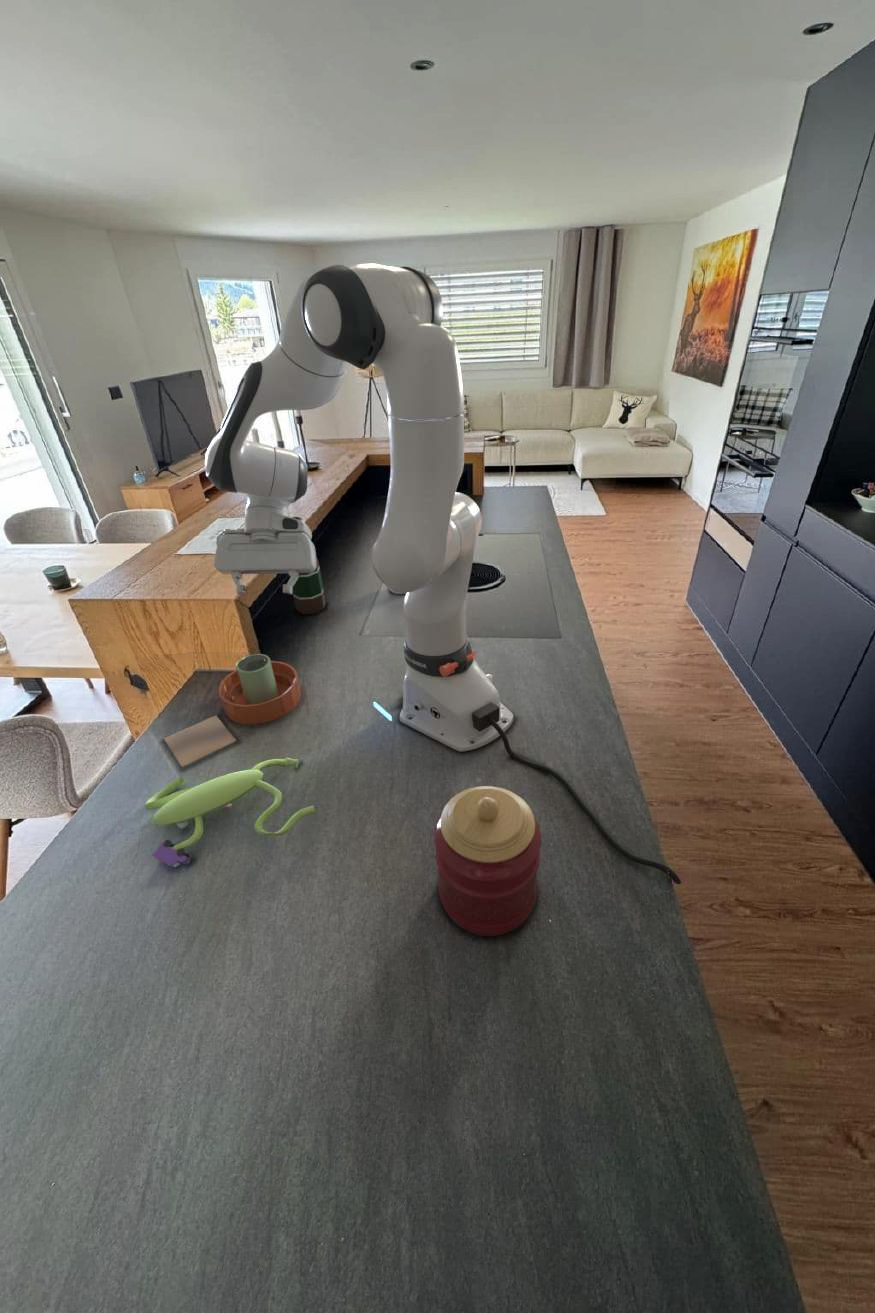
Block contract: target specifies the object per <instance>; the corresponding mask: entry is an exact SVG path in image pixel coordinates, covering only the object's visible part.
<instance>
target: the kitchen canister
mask: <svg viewBox="0 0 875 1313" xmlns="http://www.w3.org/2000/svg"><path fill="white" fill-rule="evenodd" d="M434 844H435V848H436V849H435V860H436V864H437V869H438V878H437V886H438V889H437V890H438V895H439V899H440V901H441V904H442V907H443V909H444V910H445V912H446V914H447V916H448V917H449V919H450V920H451V921H453V923H455V925H457V926H458V927H460V929H463V930H464V931H466V932H468V933H471V934H473V935H478V936H482V937H496V936H503V935H505V934H508V933H511V932H512V931H514V930H516V929H517V928H519V927H520V926H522V925H523V924H524V923H525V921H526V920H527V919H528V917H529V916H530V914H531V912H532V910H533V909H534V906H535V903H536V901H537V895H538V880H537V879H538V878H537V877H538V870H539V866H540V861H541V860H540V859H541V857H540V856H541V855H540V850H541V847H542V833H541V829H540V826H539V824H538V822H537V820H536V818H535V816H534V813H533V810H532V809H531V807H530V806H529V804H528V803H527V802H526V801H525V800H524V799H523V798H521V797H520V796H519V795H518V794H516V793H514V792H513V791H510V790H508V789H506V788H502V787H498V786H493V785H492V786H490V785H480V786H475V787H470V788H467V789H465V790H462V791H460V792H458V793H457V794H456V795H454V796H453V797H452V798H451V799H449V800H448V801H447V803H446V804H445V806H444V808H443V810H442V812H441V814H440V816H439V818H438V820H437V822H436V825H435V828H434Z"/></svg>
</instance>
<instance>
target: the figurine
mask: <svg viewBox="0 0 875 1313" xmlns="http://www.w3.org/2000/svg"><path fill="white" fill-rule="evenodd" d="M299 764H300V762H299V759H298V758H297V759H295V758H294V759H293V758H290V757H288V756H286V757H285V758H284V759H283V758H272V759H267V760H264V761H261V762H259V763H257V764H256V765H254V766H252V768H251V769H244V770H240V771H234V772H231V773H228V774H223V775H221V776H217V777H215V778H213V779H210V780H207V781H205V782H203V783H201V784H198V785H195V786H192V787H190V788H186V789H182V790H179V791H176V792H173V791H174V790H176V789H178V788H179V787H180V786H182V785H183V783H184V782H185V779H184V778H183V776H181V775H180V776H178V778H176V779H175V780H174V781H173V782H170V783H169V784H168V785H167V786H166V787H163V788H162V789H161V790H160V791H158V792H156V793H155V794H154V795H152V796H151V798H149V799H148V800H147V801H146V802H145V803H144V808H145V809H146V810H154V809H158V808H159V809H158V810H157V811H156V812H155V813H154V814H153V816H152V818H151V822H152V823H153V825H155V826H165V827H166V826H170V825H171V826H172V825H176V826H177V827H178V828H179V829H181V830H183V829H185V828H186V827H187V826H188V825H189V821H191V820H194V831H193V834H192V835H190V837H189V838H188V839H186V840H184V841H181V842H180V843H177V844H174V843H173V842H172V840H170V839H166V840H164V841H163V842H161V844H160V845H159V846H158V847H157V849H156V850H155V851H154V853H153V854H152V856H151V857H153V858H154V859H157V860H158V861H160V862H161V863H163V864H164V865H167V866H168V867H170V868H173V869H175V868H178V866H180V865H182V864H183V865H188V864H189V863H190V862H191V860H192V859H191V854H190V853H189V852H186V850H185V849H187V848H188V847H191V846H193V845H194V844H196V843H197V842H198V841H199V840H200V839H201V837H202V835H203V833H204V818H203V816H205V815H208V814H210V813H213V812H215V811H217V810H219V809H222V808H224V807H225V808H230V807H232V806H233V802H235V801H236V800H239V799H240V798H242V797H243V796H244V795H246V794H248V793H249V792H250V791H253V789H254V788H256V789H257V788H258V789H260V790H262V791H264V792H267V793H268V794H270V795H272V796H273V803H272V805H270V806H269V807H268V808H267V809H266V810H264V811H263V812H262V813H261V815H259V817H258V818H257V819H256V821H255V823H254V830H255V832H256V833H257V834H258V835H262V836H276V837H277V836H278V837H279V836H283V835H285V834H287V833H289V832H290V831H291V830H292V829H293V828H294V827H295V825H296V824H297V823H298V822H299V821H300V820H302V819H303V818H305V817H307V816H310V815H314V814H316V810H315V806H314V805H310V806H307V807H304V808H302V809H299V810H298V811H296V812H295V813H294V814H292V815H291V817H290V818H289V819H287V821H286V822H285V824H284V825H283V826H282V827H281V828H280V829H279V830H277V831H275V832H269V831H267V830H265V828H264V824H265V823H266V822H267V820H268V819H269V818H270V817H271V816H272V815H273V814H274V813H275V812H276V811H277V810H278V809H279V808H280V807H281V805H282V802H283V794H282V792H281V791H280V790H279V789H278V788H276V786H274V785H271V784H270V783H268V782H267V781H263V777H264V772H263V771H262V770H265V769H267V768H269V767H287V766H289V767H295V768H296V769H297V768H298V766H299ZM171 792H173V793H171ZM170 793H171V794H170Z"/></svg>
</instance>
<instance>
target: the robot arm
mask: <svg viewBox="0 0 875 1313" xmlns="http://www.w3.org/2000/svg"><path fill="white" fill-rule="evenodd" d="M443 307H444V306H443V299H442V295H441V293H440V289H439V287H438V286H437V284H436V283H435V280H433V279H432V277H430V276H429V275H427V273H424V272H423V271H421V270H418V269H416V268H413V267H410V266H401V267H398V266H394V265H393V266H392V265H383V264H380V263H376V262H368V263H367V262H366V263H355V264H349V265H343V264H334V265H331V266H327V267H324V268H321V269H320V270H318V271H317V272H315V273H312V274H310V275H307V276H306V277H305V278H303V279H302V280H301V282H300V283H299V285H298V287H297V288H296V290H295V292H294V294H293V297H292V299H291V301H290V303H289V305H288V308H287V312H286V314H285V317H284V319H283V322H282V325H281V329H280V333H279V337H278V341H277V343H276V345H275V347H274V348H273V350H272V351H271V352H270V353H269V354H268V355H267V356H266V357H265V358H263V359H262V360H259V361H255V362H252V363H251V364H250V365H248V367H247V369H246V371H245V372H244V374H243V375H242V378H241V379H240V382H239V383H238V385H237V388H236V390H235V393H234V394H233V397H232V399H231V401H230V403H229V406H228V407H227V410H226V413H225V414H224V416H223V419H222V422H221V424H220V426H219V428H218V430H217V431H216V433H215V435H214V437H213V438H212V440H211V442H210V444H209V446H208V448H207V451H206V452H205V459H204V469H205V476H206V477H207V479H208V480H209V481H210V482H211V483H212V485H213V486H214V487H215V488H216V489H218V490H219V492H225V493H226V492H227V493H235V494H238V493H240V494H244V495H246V499H247V500H246V501H247V502H246V506H245V509H244V523H243V524H244V525H243V528H235V529H234V528H232V529H231V528H226V529H224V530H223V531H220V532H219V533H218V534H217V536H216V549H215V555H214V560H213V561H214V562H213V566H214V568H215V570H216V571H217V572H219V573H220V574H223V575H231V579H232V580H233V582H234V584H235V585H236V590H235V592H236V595H238V596H247V594H248V592H247V591H248V586H246V585H245V584H243V583H242V582H241V580H242V579H243V575H269V574H270V575H271V574H272V575H273V574H274V575H275V574H278V575H279V574H288V577H289V576H290V577H289V579H288V581H287V583H283V584H282V594H284V595H293V592H292V591H293V586H294V584H295V583H296V581H297V580H298V575H299V573H313V572H314V570H315V569H316V558H317V552H316V547H315V544H314V543H313V541H312V538H313V533H312V530H311V529H310V527H309V526H308V525H307V524H306V523H305V522H304V520H303V521H301V520H298V519H294V518H292V517H291V516H290V512H289V504H294V503H296V502H298V500H300V499H301V498H303V497H304V496H305V495H306V493H307V490H308V478H309V477H308V476H309V475H308V474H309V466H308V464H307V462H306V461H305V458H304V457H303V456H302V455H301V454H300V453H299V452H297V451H294V450H291V449H289V448H288V449H287V448H284V447H279V446H275V445H268V444H264V443H260V442H256V441H252V440H248V436H249V434H250V432H251V430H252V428H253V426H254V424H255V421H256V420H257V419H258V418H259V417H260V416H262V415H266V414H268V413H273V412H279V411H280V412H282V411H308V410H309V411H310V410H313V409H317V408H320V407H323V406H324V405H326V404H328V403H329V402H331V401H332V400H333V399H334V398H335V397H336V395H337V394H338V392H339V391H340V389H341V386H342V384H343V382H344V380H345V376H346V375H347V371H348V368H349V366H350V365H352V366H354V367H356V368H358V369H360V370H367V369H368V368H369V367H370V366H371V365H372V364H373V365H375V366H376V368H378V370H379V371H380V372H381V374H382V377H383V379H384V383H385V390H386V410H387V425H388V439H389V440H388V441H389V442H388V443H389V456H390V457H389V459H390V473H389V484H388V492H387V498H386V502H385V503H386V504H385V510H384V515H383V520H382V525H381V527H380V531H379V534H378V536H377V538H376V540H375V543H374V545H373V546H372V549H371V565H372V567H373V570H374V572H375V575H376V576H377V578H378V579H379V580H380V581H381V583H383V585H385V586H386V587H387V588H390V589H392V590H394V591H397V592H401V593H406V594H404V598H403V603H402V611H403V612H402V614H403V621H404V622H403V624H404V634H405V638H404V640H403V655H404V661H405V662H406V668H405V672H404V677H403V681H402V682H403V685H402V686H403V688H402V708H401V710H400V713H399V721H400V722H401V723H403V724H404V725H406V726H408V727H410V728H412V729H414V730H416V731H418V732H420V733H422V734H423V735H426V736H427V737H429V738H431V739H433V740H435V741H438V742H439V743H441V744H443V745H444V746H447V747H449V748H451V749H453V750H455V751H457V752H467V751H468V752H469V751H473V750H476V749H479V748H482V747H484V746H486V745H488V744H490V743H491V742H494V741H495V740H496V739H498V738H501V739H502V742H503V745H504V749H505V751H506V753H507V754H508V755H509V756H510V757H511V758H512V759H513V760H515V761H517V762H519V763H521V764H524V765H526V766H528V767H531V768H534V769H537V770H540V771H543V772H545V773H547V774H549V775H551V776H552V777H554V778H555V779H556V780H557V781H558V782H560V784H561V785H563V786H564V787H565V789H566V790H567V791H568V792H569V794H570V795H571V797H572V798H573V800H574V801H575V802H576V803H577V805H578V807H580V809H581V810H582V811H583V813H584V814H586V815H587V817H588V818H589V819H590V820H591V823H593V825H594V826H595V827H596V828H597V830H598V831H599V832H600V834H601V835H602V837H603V838H604V839H605V840H606V841H607V842H608V843H609V845H611V846H612V847H613V848H614V849H615V850H616V851H617V852H618V853H619V854H621V855H622V856H624V857H625V858H626V859H629V860H630V861H632V862H634V863H637V864H640V865H644V866H648V867H650V868H653V869H657V870H659V871H662V872H663V873H665V874H666V875H667V876H668V877H670V879H671V880H672V881H673V882H674V883H675V884H677V885H681V884H682V880H681V878H680V877H679V876H678V874H677V873H676V872H675V871H674V869H672V868H671V867H670V866H668V865H666V864H664V863H663V862H660V861H657V860H654V859H650V858H645V857H643V856H639V855H636V854H634V853H632V852H631V851H629V850H627V849H626V848H625V847H624V846H623V845H621V844H620V843H619V842H618V841H617V840H615V838H614V837H613V836H612V834H610V833H609V832H608V830H607V829H606V828H605V827H604V825H603V824H602V822H600V820H599V819H598V817H597V816H596V815H595V814H594V813H593V811H592V810H591V809H590V808H589V807H588V806H587V804H586V803H585V802H584V800H582V798H581V797H580V795H579V794H578V793H577V791H576V790H575V789H574V787H573V786H572V785H571V784H570V783H569V781H568V780H567V779H566V778H565V777H563V775H561V774H560V773H559V772H557V771H556V770H555V769H553V768H551V767H549V766H546V765H544V764H541V763H537V762H535V761H531V760H528V759H525V758H523V757H521V756H520V755H518V754H517V753H515V751H514V750H513V749H512V748H511V746H510V742H509V739H508V737H507V734H506V731H507V730H508V729H509V728H510V727H511V725H512V724H513V722H514V714H513V713H512V711H511V710H510V709H509V708H508V707H507V706H505V704H503V703H502V702H501V699H500V698H501V697H500V694H499V691H498V689H497V688H496V687H495V685H494V684H495V679H494V677H493V675H492V674H490V673H488V674H486V673H485V672H484V671H483V670H482V668H481V667H480V666H479V664H478V661H476V660H475V658H477V657H478V655H477V653H478V651H477V650H475V651H473V650H472V646H471V642H470V640H469V637H468V635H467V597H468V590H469V584H470V580H471V579H470V578H471V574H472V567H473V561H474V555H475V551H476V550H475V548H476V545H477V541H478V539H479V536H480V533H481V530H482V526H483V517H482V512H481V511H480V510H481V509H480V508H479V506H478V505H477V503H476V502H475V501H474V499H472V498H471V497H470V496H469V495H467V494H464V493H462V492H457V488H458V485H459V482H460V479H461V477H462V474H463V471H464V466H465V396H464V384H463V373H462V367H461V359H460V354H459V349H458V344H457V341H456V339H455V337H454V335H453V334H452V333H451V332H450V331H449V330H448V329H447V328H444V327H443V326H442V322H443V316H444V315H443V313H444V310H443V309H444V308H443ZM390 589H389V590H390ZM373 707H374V708H375V709H376V710H377V711H378V712H380V713H381V714H382V715H383V716H384V717H385V718H386V719H387V720H388V721H391V722H392V721H393V718H392V715H391V714H390V713H388V712H387V711H386V710H385V709H384V708H383V707H382V706H381V705H380V704H378V703H377V702H376V701H373ZM667 870H668V871H667ZM668 872H669V874H668Z"/></svg>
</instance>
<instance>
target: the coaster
mask: <svg viewBox="0 0 875 1313" xmlns="http://www.w3.org/2000/svg"><path fill="white" fill-rule="evenodd" d="M163 740H164V742H165V744H166V745H167V747H168V748H169V750H170V751H171V753H172V754H173V756H174V757H175V759H176V761H177V762H178V764H179V765H180V767H181V768H183V767H186V766H187V765H190V764H192V763H194V762H196V761H198V760H200V759H202V758H204V757H206V756H208V755H210V754H213V753H214V752H216V751H219V750H221V749H223V748H225V747H226V746H229V745H231V744H233V743H235V742H237V739H236V738H235V737H234V736H233V734H232V733H231V732H230V731H229V729H228V728H227V727H226V725H225V724H224V723H223V721H221V720H220V718H219V717H218V716H217V715H216V714H215V715H213V716H211V717H208V718H206V719H204V720H201V721H199V722H198V723H196V724H193V725H191V726H189V727H187V728H184V729H182V730H179V731H177V732H175V733H173V734H170V735H168V736H167V737H163Z"/></svg>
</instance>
